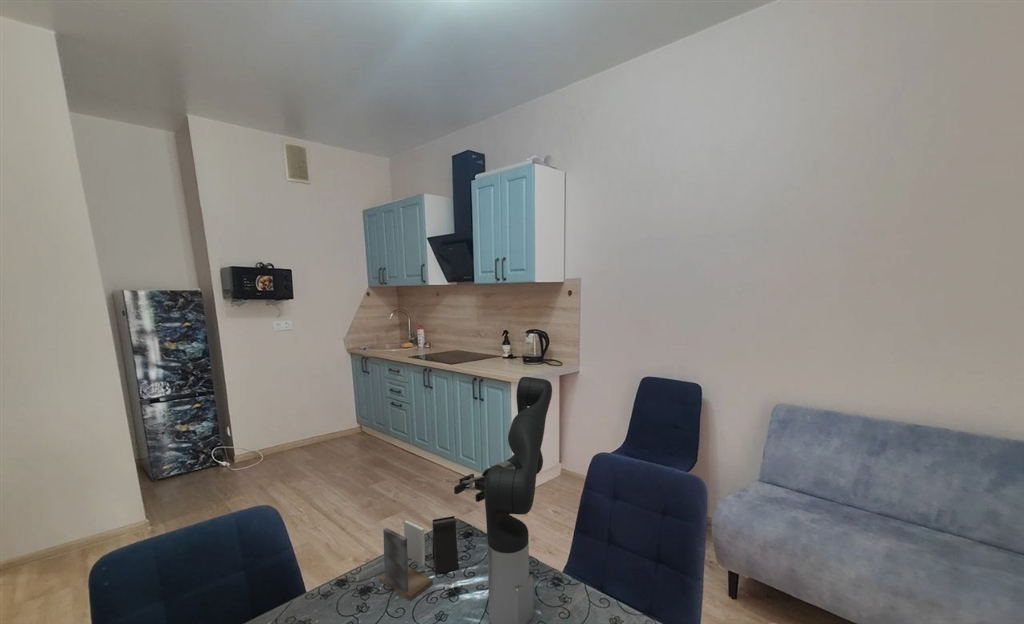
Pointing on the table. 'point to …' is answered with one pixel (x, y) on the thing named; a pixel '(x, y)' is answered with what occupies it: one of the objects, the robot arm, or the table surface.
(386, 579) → the grey bookend
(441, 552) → the phone stand
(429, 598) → the table surface
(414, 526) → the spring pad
